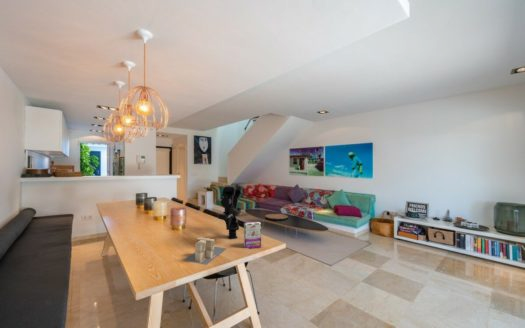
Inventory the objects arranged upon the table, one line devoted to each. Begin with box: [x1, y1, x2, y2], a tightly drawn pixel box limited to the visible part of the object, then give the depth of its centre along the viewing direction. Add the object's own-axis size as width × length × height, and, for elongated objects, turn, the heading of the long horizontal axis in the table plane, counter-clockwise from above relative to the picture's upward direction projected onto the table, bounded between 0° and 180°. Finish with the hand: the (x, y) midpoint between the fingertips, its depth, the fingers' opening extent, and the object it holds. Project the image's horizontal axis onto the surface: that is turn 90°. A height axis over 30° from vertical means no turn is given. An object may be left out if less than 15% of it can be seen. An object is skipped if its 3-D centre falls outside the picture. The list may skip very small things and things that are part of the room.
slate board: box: [182, 246, 227, 266], centre depth 130 cm, size 24×16×1 cm, turn 162°
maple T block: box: [194, 237, 215, 262], centre depth 124 cm, size 9×10×10 cm
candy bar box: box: [243, 221, 262, 249], centre depth 144 cm, size 11×5×16 cm, turn 105°
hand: (228, 226), depth 149 cm, fingers closed
